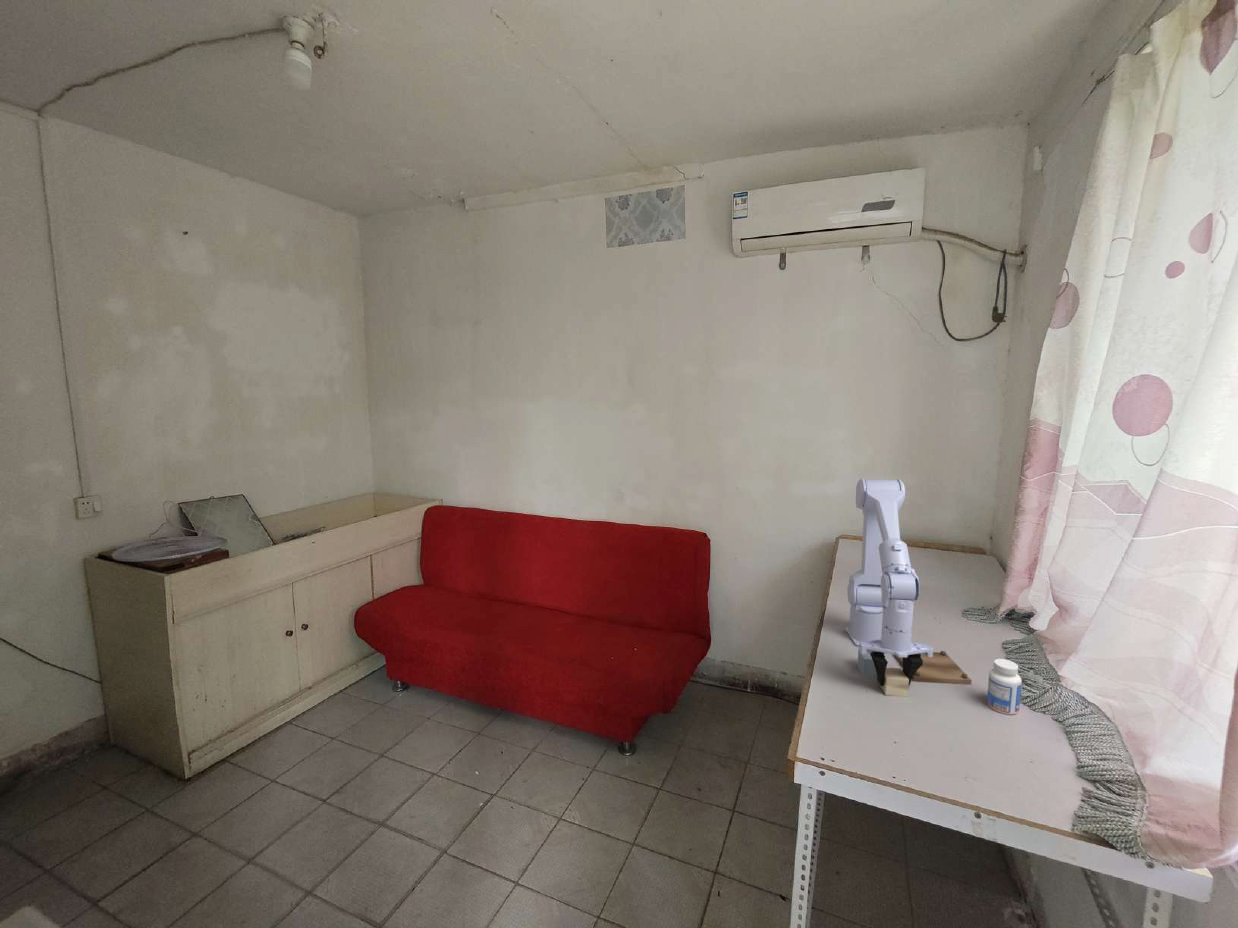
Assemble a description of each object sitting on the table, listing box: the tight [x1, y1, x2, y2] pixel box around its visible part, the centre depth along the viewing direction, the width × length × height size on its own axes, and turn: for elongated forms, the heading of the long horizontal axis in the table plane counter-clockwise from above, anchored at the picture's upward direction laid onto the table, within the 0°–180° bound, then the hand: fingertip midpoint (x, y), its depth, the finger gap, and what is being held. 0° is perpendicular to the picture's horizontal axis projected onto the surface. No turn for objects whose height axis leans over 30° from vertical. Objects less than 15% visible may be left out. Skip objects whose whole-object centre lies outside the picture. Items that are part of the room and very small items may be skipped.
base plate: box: [894, 650, 973, 685], centre depth 121 cm, size 12×12×2 cm
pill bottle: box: [986, 658, 1023, 715], centre depth 106 cm, size 6×5×10 cm
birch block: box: [877, 667, 910, 698], centre depth 113 cm, size 4×4×4 cm
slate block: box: [857, 648, 877, 676], centre depth 121 cm, size 4×4×4 cm
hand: (893, 684), depth 113 cm, fingers closed on birch block, 4 cm apart
